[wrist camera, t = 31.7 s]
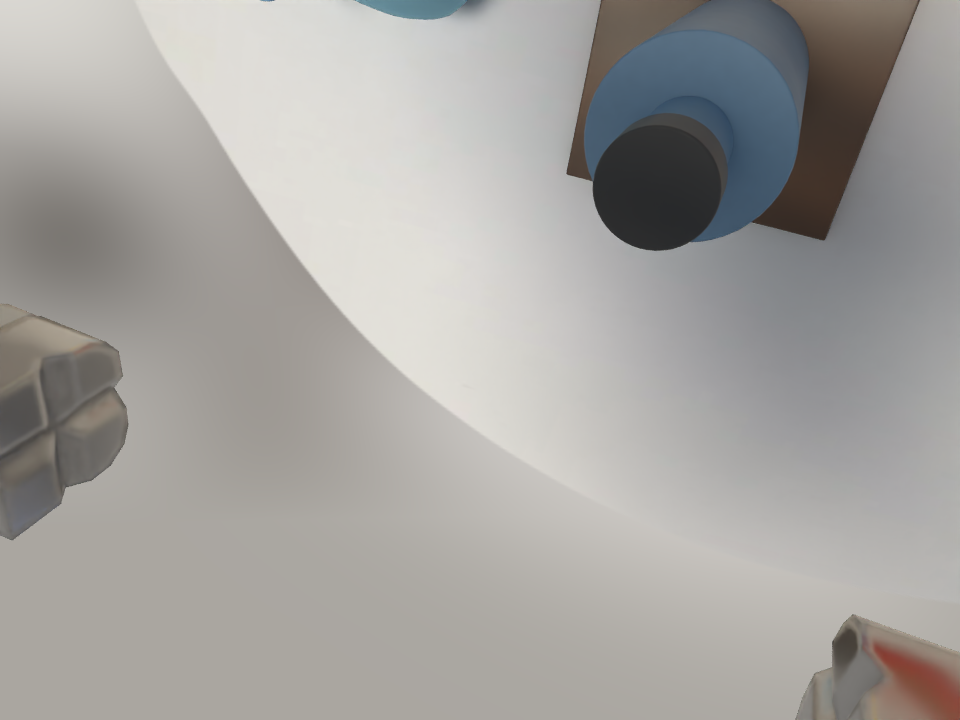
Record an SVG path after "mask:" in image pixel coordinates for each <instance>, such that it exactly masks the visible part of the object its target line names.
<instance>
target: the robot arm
mask: <svg viewBox="0 0 960 720" xmlns="http://www.w3.org/2000/svg"><path fill="white" fill-rule="evenodd" d="M122 377H123V373H122V368H121V361H120V355H119V351H118V350H116V349H115V348H114V347H112V346H111V345H109V344H108V343H107V342H105V341H102V340H99V339H97V338H94V337H92V336H90V335H87V334H85V333H82V332H79V331H77V330H74V329H72V328H69V327H66V326H64V325H61V324H59V323H57V322H54V321H51V320H49V319H47V318H44V317H41V316H36V315H34V314H32V313H29V312H27V311H24V310H22V309H19V308H17V307H14V306H12V305H9V304H0V535H1V536H3V537H5V538H8V539H10V540H13V539H15V538H16V537H17V536H19V535H20V534H21V533H23V532H24V531H25V530H27V529H28V528H29V527H30V526H32V525H33V524H35V523H36V522H37V521H39V520H40V519H41V518H43V517H44V516H45V515H47V514H48V513H49V512H51V511H52V510H53V509H55V508H56V507H57V506H59V505H60V504H61V501H62V498H63V495H64V491H65V488H66V487H69V486H73V485H76V484H81V483H84V482H87V481H91V480H93V479H94V478H95V477H97V476H98V475H99V474H100V473H102V472H103V471H104V470H105V469H107V468H108V467H109V466H111V464H112V462H113V461H114V459H115V458H116V456H117V455H118V453H119V452H120V450H121V448H122V447H123V445H124V443H125V438H126V433H127V429H128V417H127V408H126V406H125V404H124V403H123V401H122V400H121V398H120V396H119V395H118V393H117V391H116V390H115V388H114V387H115V385H117V383H118V382H119V381H120V379H121V378H122ZM832 650H833V651H832V667H831V668H829V669H826V670H823V671H820V672H817V673H815V674H814V676H813V678H812V680H811V682H810V684H809V685H808V687H807V690H806V691H805V693H804V695H803V697H802V701H801V704H800V707H799V710H798V713H797V716H796V719H795V720H960V652H957V651H954V650H952V649H948V648H946V647H943V646H940V645H938V644H935V643H932V642H929V641H926V640H924V639H920V638H918V637H915V636H912V635H910V634H906V633H904V632H901V631H898V630H896V629H893V628H890V627H887V626H884V625H881V624H879V623H876V622H873V621H870V620H868V619H865V618H862V617H859V616H856V615H852V616H851V617H849V618H848V619H847V620H846V621H845V622H844V623H843V625H842V626H841V628H840V630H839V632H838V633H837V635H836V637H835V639H834V640H833V642H832Z"/></svg>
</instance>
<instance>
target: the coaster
mask: <svg viewBox="0 0 960 720" xmlns="http://www.w3.org/2000/svg"><path fill="white" fill-rule="evenodd" d="M709 1H711V0H601V5H600V10H599V15H598V20H597V25H596V30H595V34H594V39H593V44H592V49H591V54H590V59H589V64H588V69H587V74H586V79H585V84H584V89H583V94H582V99H581V104H580V109H579V114H578V118H577V123H576V128H575V133H574V138H573V143H572V148H571V153H570V158H569V163H568V168H567V175H571V176H575V177H579V178H583V179H586V180H590V181H592V178H591V175H590V173H589V170H588V166H587V162H586V157H585V148H584V131H585V124H586V117H587V114H588V110H589V107H590V104H591V101H592V99H593V96H594V94H595V92H596V90H597V88H598V87H599V85H600V83H601V81H602V80H603V78H604V77H605V76H606V74H607V73H608V72H609V70H610V69H611V68H612V67H613V66H614V65H615V64H616V63H617V62H618V61H619V60H620V59H621V58H622V57H623V56H624V55H626V54H627V53H628V52H629V51H631V50H632V49H633V48H635V47H637V46H638V45H640V44H641V43H643V42H644V41H646V40H648V39H649V38H651V37H652V36H654V35H655V34H657V33H658V32H660V31H662V30H663V29H665V28H666V27H668V26H669V25H671V24H673V23H674V22H676V21H677V20H679V19H680V18H682V17H683V16H685V15H687V14H688V13H690V12H691V11H693V10H694V9H696V8H698V7H699V6H701V5H703V4H704V3H706V2H709ZM770 1H772V2H774V3H776V4H777V5H779V6H780V7H782V8H783V9H784V10H785V11H787V12H788V13H789V14H790V15H791V16H792V18H793V19H794V20H795V21H796V23H797V24H798V26H799V27H800V29H801V31H802V33H803V35H804V38H805V41H806V44H807V48H808V55H809V72H808V79H807V86H806V93H805V101H804V108H803V115H802V122H801V129H800V137H799V144H798V151H797V156H796V159H795V163H794V167H793V169H792V171H791V174H790V176H789V178H788V181H787V182H786V184H785V186H784V188H783V189H782V191H781V193H780V194H779V195H778V197H777V198H776V199H775V200H774V202H773V203H772V204H771V205H770V206H769V207H768V208H767V209H766V210H765V211H764V212H763V213H762V214H761V215H760V216H759V217H757V218H756V219H755V220H753V221H752V222H753V223H757V224H761V225H765V226H769V227H773V228H777V229H781V230H784V231H788V232H792V233H796V234H800V235H804V236H808V237H812V238H815V239H819V240H825V239H826V236H827V233H828V231H829V228H830V226H831V223H832V221H833V218H834V216H835V213H836V211H837V208H838V206H839V203H840V201H841V198H842V196H843V193H844V190H845V188H846V185H847V183H848V180H849V178H850V175H851V173H852V170H853V168H854V165H855V163H856V160H857V158H858V155H859V153H860V150H861V148H862V145H863V142H864V140H865V137H866V135H867V132H868V130H869V127H870V125H871V122H872V120H873V117H874V115H875V112H876V110H877V107H878V105H879V102H880V99H881V97H882V94H883V92H884V89H885V87H886V84H887V82H888V79H889V77H890V74H891V72H892V69H893V67H894V64H895V62H896V59H897V57H898V54H899V51H900V49H901V46H902V44H903V41H904V39H905V36H906V34H907V31H908V29H909V26H910V24H911V21H912V19H913V16H914V14H915V11H916V9H917V6H918V3H919V1H920V0H770Z"/></svg>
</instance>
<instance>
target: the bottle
mask: <svg viewBox="0 0 960 720" xmlns="http://www.w3.org/2000/svg"><path fill="white" fill-rule="evenodd" d="M808 72H809V55H808V48H807V44H806V41H805V38H804V35H803V33H802V31H801V29H800V27H799V26H798V24H797V23H796V21H795V20H794V19H793V18H792V16H791V15H790V14H789V13H788V12H787V11H785V10H784V9H783V8H782V7H780V6H779V5H777V4H776V3H774V2H772V1H770V0H711V1H709V2H706V3H704V4H703V5H701V6H699V7H698V8H696V9H694V10H693V11H691V12H690V13H688V14H687V15H685V16H683V17H682V18H680V19H679V20H677V21H676V22H674V23H673V24H671V25H669V26H668V27H666V28H665V29H663V30H662V31H660V32H658V33H657V34H655V35H654V36H652V37H651V38H649V39H648V40H646V41H644V42H643V43H641V44H640V45H638V46H637V47H635V48H633V49H632V50H631V51H629V52H628V53H627V54H626V55H624V56H623V57H622V58H621V59H620V60H619V61H618V62H617V63H616V64H615V65H614V66H613V67H612V68H611V69H610V70H609V72H608V73H607V74H606V76H605V77H604V78H603V80H602V81H601V83H600V85H599V87H598V88H597V90H596V92H595V94H594V96H593V99H592V101H591V104H590V107H589V110H588V114H587V117H586V124H585V131H584V148H585V157H586V162H587V166H588V170H589V173H590V175H591V178H592V181H593V197H594V202H595V206H596V209H597V211H598V214H599V216H600V217H601V219H602V221H603V222H604V224H605V225H606V227H607V228H608V229H609V230H610V231H611V232H612V233H613V234H614V235H615V236H617V237H618V238H619V239H621V240H622V241H624V242H625V243H628V244H630V245H632V246H634V247H637V248H640V249H645V250H653V251H661V250H669V249H674V248H677V247H680V246H683V245H685V244H687V243H689V242H701V241H707V240H713V239H716V238H719V237H723V236H726V235H728V234H730V233H733V232H735V231H737V230H739V229H741V228H743V227H744V226H746V225H748V224H749V223H751V222H752V221H753V220H755V219H756V218H757V217H759V216H760V215H761V214H762V213H763V212H764V211H765V210H766V209H767V208H768V207H769V206H770V205H771V204H772V203H773V202H774V200H775V199H776V198H777V197H778V195H779V194H780V193H781V191H782V189H783V188H784V186H785V184H786V182H787V181H788V178H789V176H790V174H791V171H792V169H793V167H794V163H795V159H796V156H797V151H798V144H799V137H800V129H801V122H802V115H803V108H804V101H805V93H806V86H807V79H808Z"/></svg>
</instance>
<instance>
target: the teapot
mask: <svg viewBox="0 0 960 720" xmlns="http://www.w3.org/2000/svg"><path fill="white" fill-rule="evenodd" d="M261 1H274V0H261ZM355 1H357V2H359V3H361V4H364V5H366V6H369V7H371V8H374V9H376V10H379V11H381V12H384V13H387V14H390V15H393V16H397V17H402V18H410V19H423V20H428V19H438V18H443V17H446V16H449V15H451V14H452V13H453V12H455V11H456V10H457V9H459V8H460V7H461V6H462V5H464V4H465V2H466V1H467V0H355Z"/></svg>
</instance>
